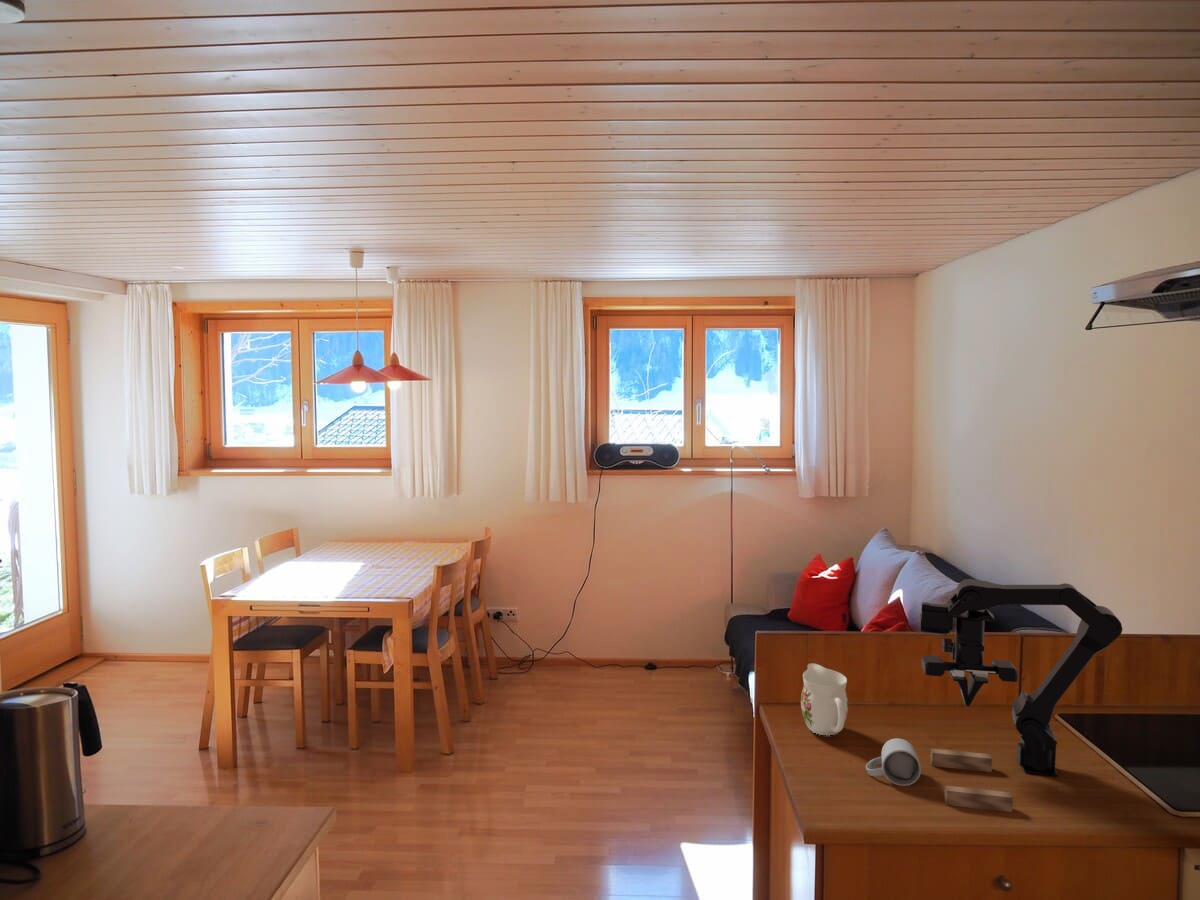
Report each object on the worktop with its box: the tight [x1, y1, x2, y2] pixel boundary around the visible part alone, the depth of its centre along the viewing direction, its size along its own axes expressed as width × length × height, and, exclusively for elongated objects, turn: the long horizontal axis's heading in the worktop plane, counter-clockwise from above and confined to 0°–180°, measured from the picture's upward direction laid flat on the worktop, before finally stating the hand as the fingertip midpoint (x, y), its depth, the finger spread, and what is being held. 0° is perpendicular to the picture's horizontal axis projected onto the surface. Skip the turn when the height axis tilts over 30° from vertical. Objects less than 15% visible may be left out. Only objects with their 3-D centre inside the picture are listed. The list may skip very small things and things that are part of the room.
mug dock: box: [929, 748, 1014, 813], centre depth 162 cm, size 12×18×3 cm, turn 166°
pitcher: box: [800, 663, 849, 737], centre depth 186 cm, size 11×18×14 cm, turn 8°
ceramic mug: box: [865, 737, 922, 787], centre depth 166 cm, size 11×8×8 cm
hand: (967, 705), depth 173 cm, fingers closed
